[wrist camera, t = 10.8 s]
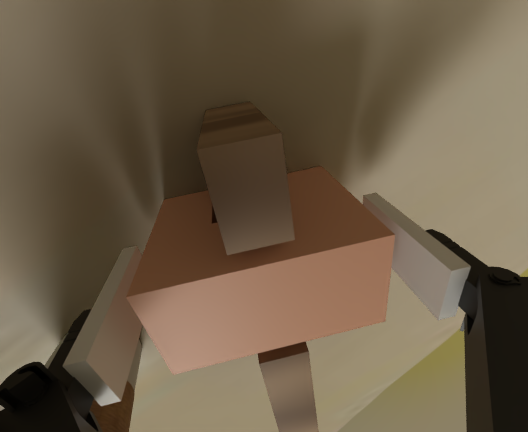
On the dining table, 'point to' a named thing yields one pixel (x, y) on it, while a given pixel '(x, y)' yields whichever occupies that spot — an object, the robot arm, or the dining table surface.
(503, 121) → the dining table surface
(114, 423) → the coffee cup
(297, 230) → the notched block
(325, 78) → the dining table surface
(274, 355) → the slotted board
